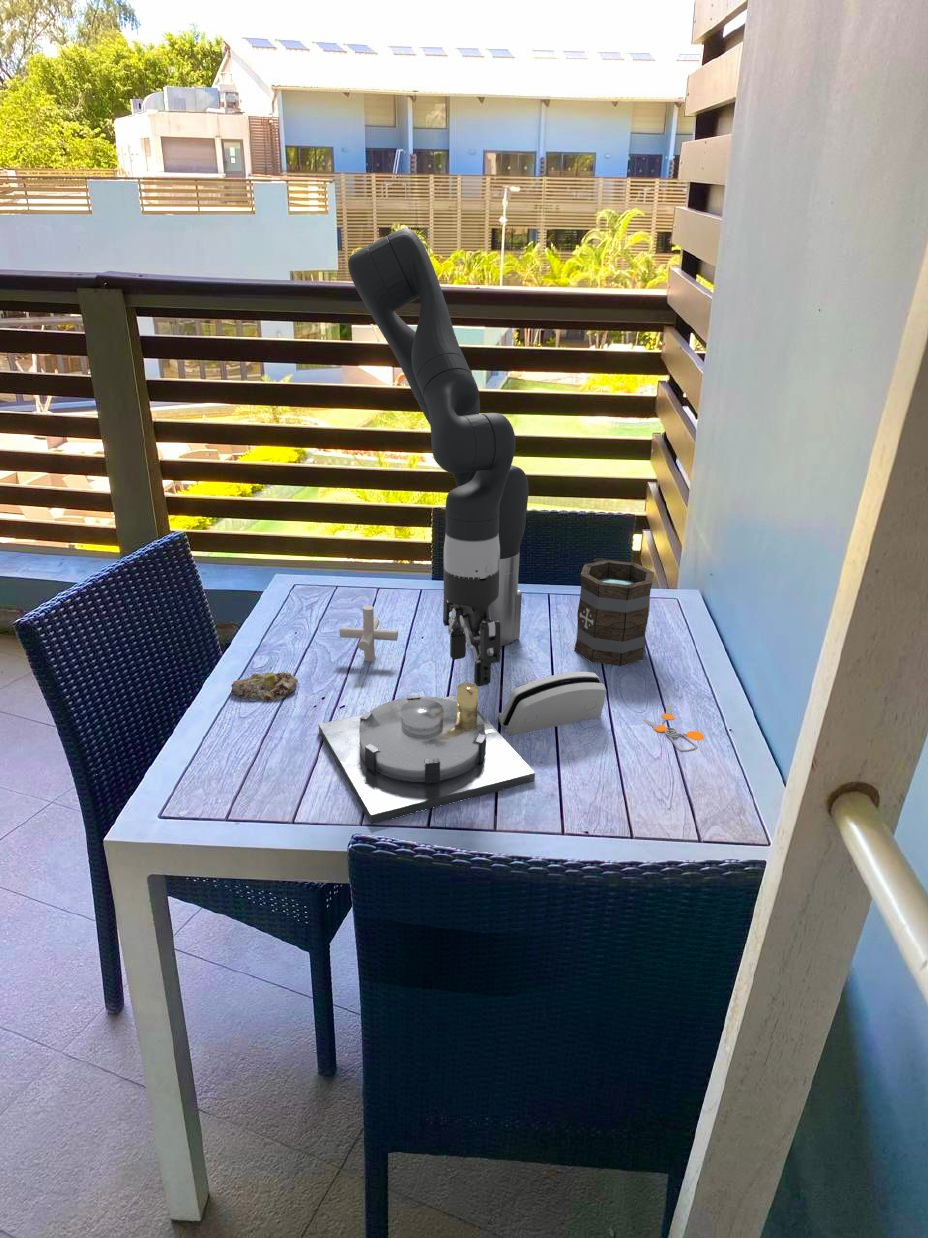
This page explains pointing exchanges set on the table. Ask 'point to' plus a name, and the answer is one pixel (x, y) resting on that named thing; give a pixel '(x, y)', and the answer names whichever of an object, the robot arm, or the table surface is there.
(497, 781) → the base plate
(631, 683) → the table surface
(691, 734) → the key chain
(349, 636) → the pipe connector
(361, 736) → the silver disc
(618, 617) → the mug
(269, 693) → the mineral rock
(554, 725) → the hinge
